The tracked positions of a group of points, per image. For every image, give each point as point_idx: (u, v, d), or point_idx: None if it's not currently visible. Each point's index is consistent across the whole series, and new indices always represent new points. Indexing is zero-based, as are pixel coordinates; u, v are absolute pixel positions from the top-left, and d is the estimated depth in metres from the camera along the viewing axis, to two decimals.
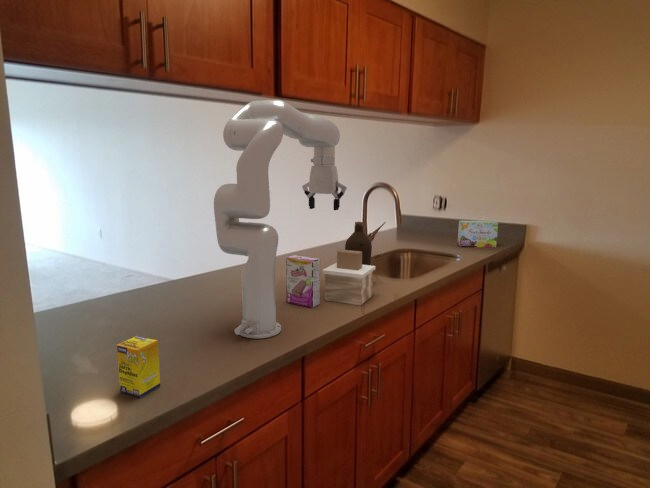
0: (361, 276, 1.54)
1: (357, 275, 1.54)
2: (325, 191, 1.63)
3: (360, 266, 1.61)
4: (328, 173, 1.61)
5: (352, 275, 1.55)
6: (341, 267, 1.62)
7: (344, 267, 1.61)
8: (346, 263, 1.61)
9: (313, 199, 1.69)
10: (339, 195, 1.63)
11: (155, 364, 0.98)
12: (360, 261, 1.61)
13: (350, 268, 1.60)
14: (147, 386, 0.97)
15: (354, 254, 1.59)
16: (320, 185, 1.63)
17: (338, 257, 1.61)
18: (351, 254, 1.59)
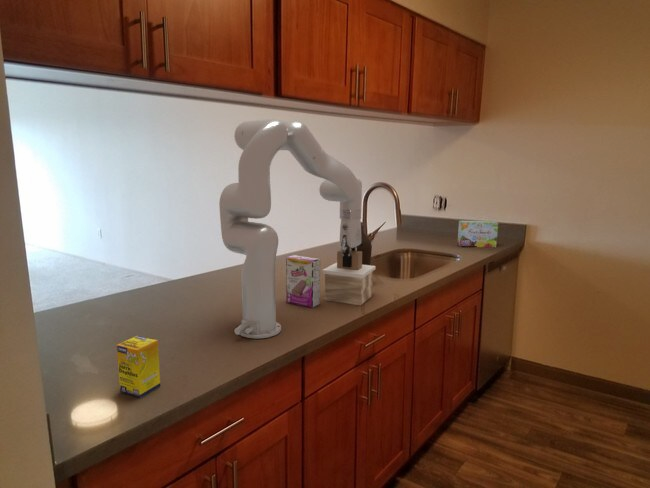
0: (361, 276, 1.54)
1: (357, 275, 1.54)
2: (359, 243, 1.61)
3: (360, 266, 1.61)
4: (360, 225, 1.61)
5: (352, 275, 1.55)
6: (341, 267, 1.62)
7: (344, 267, 1.61)
8: None
9: None
10: None
11: (155, 364, 0.98)
12: (360, 261, 1.61)
13: (350, 268, 1.60)
14: (147, 386, 0.97)
15: (354, 254, 1.59)
16: (357, 238, 1.59)
17: (338, 257, 1.61)
18: (351, 254, 1.59)
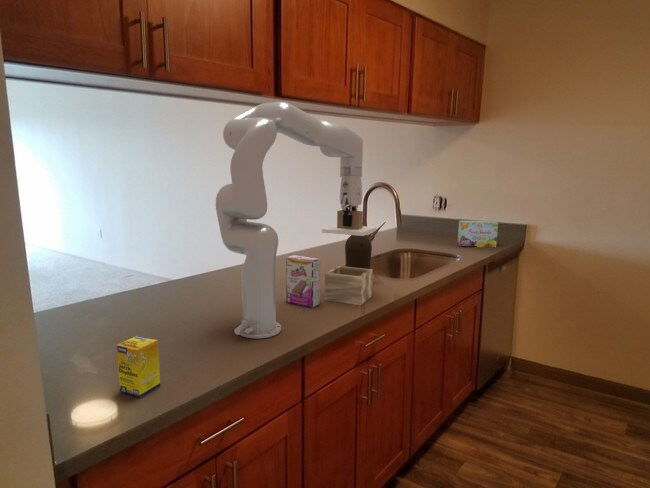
0: (362, 234, 1.51)
1: (357, 233, 1.51)
2: (359, 202, 1.59)
3: (361, 226, 1.58)
4: (360, 184, 1.59)
5: (352, 233, 1.52)
6: (341, 227, 1.59)
7: (344, 227, 1.58)
8: None
9: None
10: None
11: (155, 364, 0.98)
12: (361, 221, 1.58)
13: (350, 228, 1.57)
14: (147, 386, 0.97)
15: (355, 213, 1.56)
16: (357, 197, 1.57)
17: (338, 217, 1.59)
18: (351, 213, 1.56)
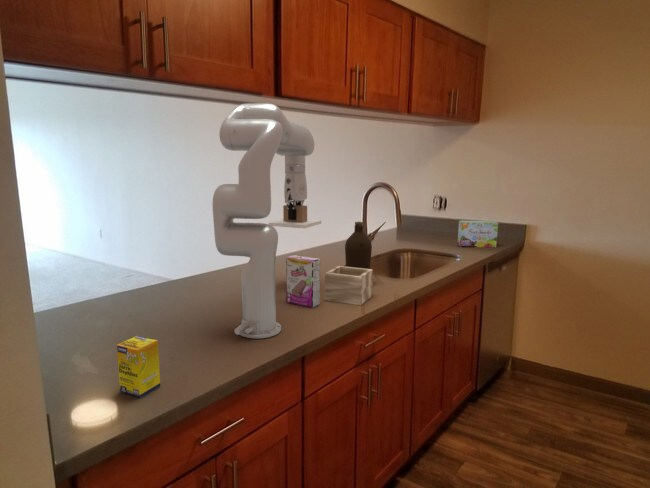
0: (303, 226, 1.63)
1: (299, 226, 1.63)
2: (304, 197, 1.71)
3: (305, 219, 1.70)
4: (305, 180, 1.70)
5: (295, 226, 1.64)
6: (287, 220, 1.71)
7: (290, 220, 1.70)
8: None
9: None
10: None
11: (155, 364, 0.98)
12: (305, 214, 1.70)
13: (295, 221, 1.69)
14: (147, 386, 0.97)
15: (299, 207, 1.68)
16: (301, 192, 1.68)
17: (284, 211, 1.71)
18: (296, 207, 1.68)
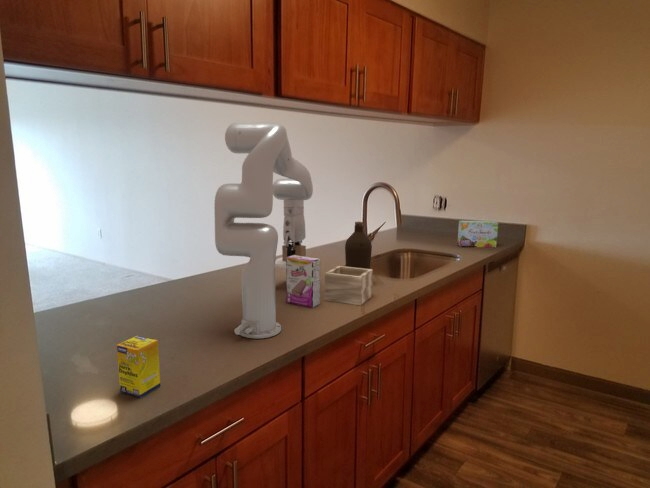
0: None
1: None
2: (302, 238, 1.74)
3: None
4: (303, 221, 1.74)
5: None
6: None
7: None
8: None
9: None
10: (300, 243, 1.77)
11: (155, 364, 0.98)
12: (303, 254, 1.73)
13: None
14: (147, 386, 0.97)
15: (297, 248, 1.71)
16: (300, 233, 1.72)
17: (283, 251, 1.74)
18: (294, 248, 1.72)
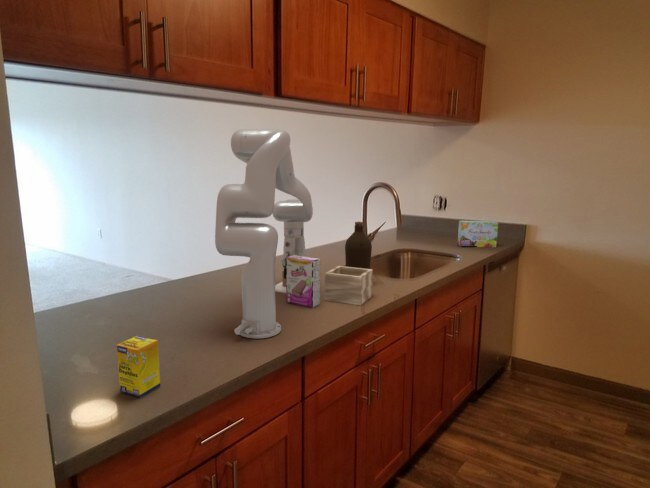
0: None
1: None
2: None
3: None
4: (303, 241, 1.75)
5: None
6: None
7: None
8: None
9: None
10: None
11: (155, 364, 0.98)
12: None
13: None
14: (147, 386, 0.97)
15: None
16: (300, 254, 1.73)
17: (283, 276, 1.76)
18: None
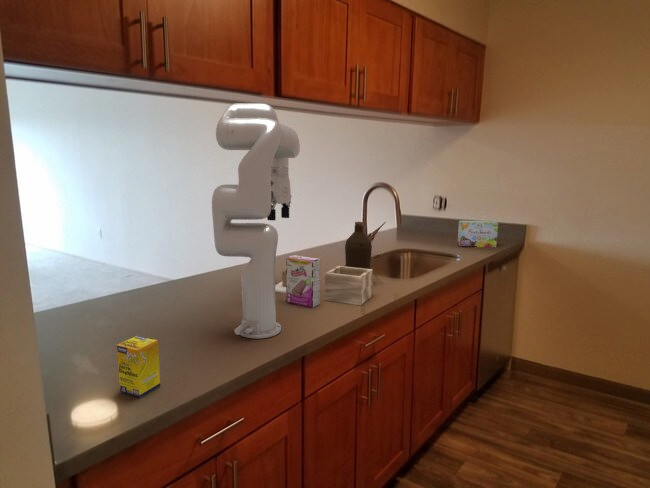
0: None
1: None
2: (287, 200, 1.69)
3: None
4: (288, 183, 1.69)
5: None
6: None
7: None
8: None
9: None
10: (289, 203, 1.74)
11: (155, 364, 0.98)
12: None
13: None
14: (147, 386, 0.97)
15: None
16: (284, 195, 1.67)
17: (283, 277, 1.75)
18: None
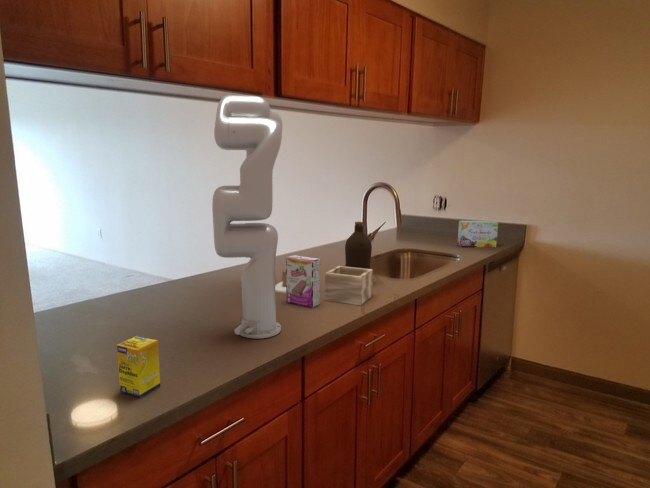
0: None
1: None
2: None
3: None
4: None
5: None
6: None
7: None
8: None
9: None
10: None
11: (155, 364, 0.98)
12: None
13: None
14: (147, 386, 0.97)
15: None
16: None
17: (283, 277, 1.75)
18: None
